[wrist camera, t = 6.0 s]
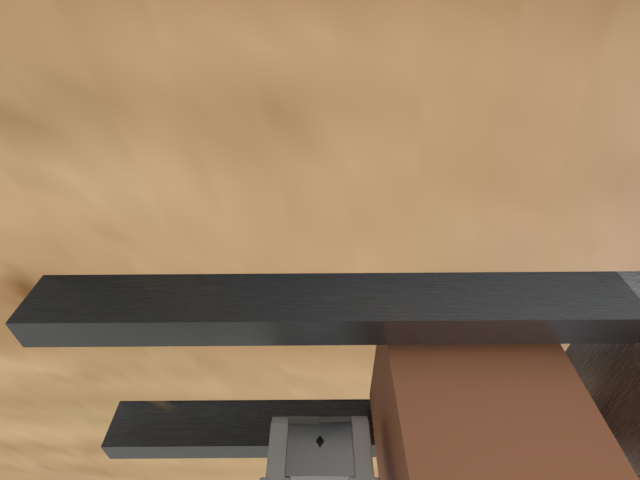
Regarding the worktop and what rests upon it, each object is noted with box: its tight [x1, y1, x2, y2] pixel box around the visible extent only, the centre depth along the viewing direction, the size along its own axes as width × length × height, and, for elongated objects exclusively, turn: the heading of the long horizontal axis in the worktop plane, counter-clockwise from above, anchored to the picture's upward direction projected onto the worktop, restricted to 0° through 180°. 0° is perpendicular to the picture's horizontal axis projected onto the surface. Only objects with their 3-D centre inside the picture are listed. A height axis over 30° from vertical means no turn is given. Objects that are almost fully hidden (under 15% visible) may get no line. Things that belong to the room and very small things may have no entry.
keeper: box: [369, 344, 639, 480], centre depth 12 cm, size 5×5×6 cm
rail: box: [5, 271, 640, 480], centre depth 12 cm, size 19×8×5 cm, turn 90°
